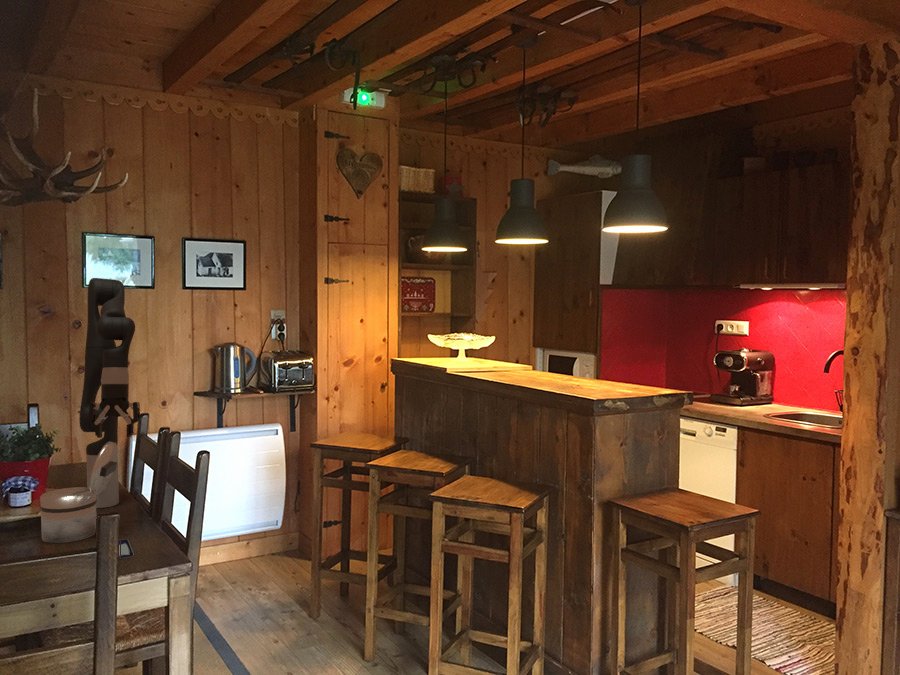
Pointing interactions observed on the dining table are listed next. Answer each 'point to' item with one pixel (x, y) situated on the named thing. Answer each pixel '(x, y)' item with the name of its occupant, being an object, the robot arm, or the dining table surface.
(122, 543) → the smartphone
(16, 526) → the dining table surface
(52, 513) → the pot
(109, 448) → the lid
